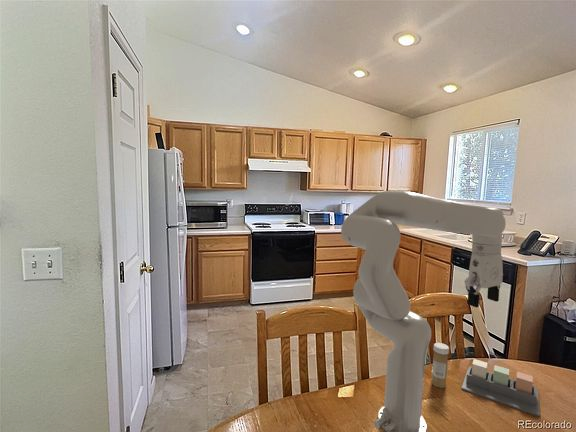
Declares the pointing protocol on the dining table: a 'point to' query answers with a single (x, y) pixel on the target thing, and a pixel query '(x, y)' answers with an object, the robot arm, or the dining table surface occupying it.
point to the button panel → (502, 392)
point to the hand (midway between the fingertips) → (483, 303)
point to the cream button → (479, 369)
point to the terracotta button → (524, 383)
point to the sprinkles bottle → (440, 365)
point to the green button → (501, 375)
